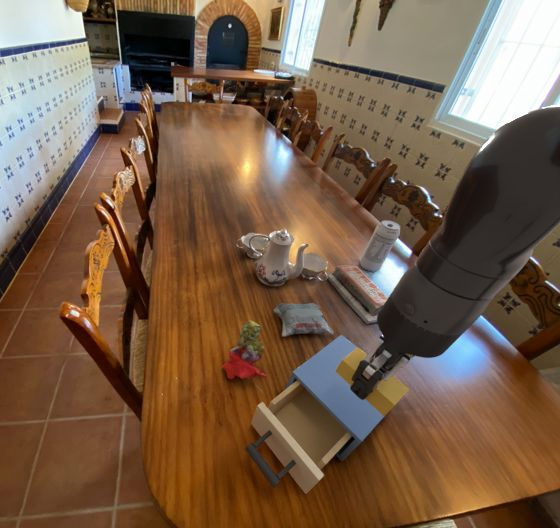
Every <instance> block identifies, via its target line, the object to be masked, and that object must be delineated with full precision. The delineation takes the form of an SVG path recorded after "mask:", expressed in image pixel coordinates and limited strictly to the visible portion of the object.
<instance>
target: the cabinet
mask: <svg viewBox="0 0 560 528" xmlns="http://www.w3.org/2000/svg"><path fill="white" fill-rule="evenodd" d="M357 347H358V346H356V345H355V344H354V343H353V342H351V341H350V340H349V339H347V338H346V337H345V336H344V335H343V334H340V335H339V336H337V337H336V338H335V339H334V340H332V341H331V342H330V343H328V344H327V345H326V346H324V347H323V348H321V350H319V351H318V352H316V353H315V354H314V355H312V356H311V357H310V358H309V359H307V360H306V361H305V362H303V363H302V364H301V365H299V366H298V367H297V368H295V369H294V370H293V371H292V372H291V375H290V377H289V379H288V381H287V382H286V386H285V388H284V390H286V389H287V388H288V387H289V386H291V385H292V384H293V383H295V382H296V381H297V380H298V381H299V382H300V383H301V384H302V385H303V386H304V387H305V388H306V389H307V390H308V391H309V392H310V393H311V394H312V395H313V396H314V397H315V399H316V400H317V401H318V402H319V403H320V404H321V405H322V406H323V407H324V408H325V409H326V410H327V411H328V412H329V413H330V414H331V415H332V416H333V417H334V418H335V419H336V420H337V421H338V422H339V423H340V424H341V425H342V426H343V427H344V428H345V429H346V430H347V431H348V432H349V433H350V434H351V435H352V437H351V438H350V439H349V440H348V441H347V442H346V443H345V444H344V446H343V447H342V448H341V449H340V450H339V451H338V452H337V453H336V454H335V455H334V456H335V457H337V459H338V460H340V462H341V463H342V462H344V460H345V459H347V458H348V456H350V455H351V454H352V452H353V451H355V449H356V448H357V447H359V446H360V444H361V443H363V442H364V440H365V439H367V437H368V436H369V435H370V433H371V432H372V431H373V430H374V429H376V427H377V425H378V424H379V423H380V422H382V420H383V419H384V418H385V416H383V415H382V414H381V413H380V412H379V411H377V410H376V409H375V408H374V407H373V406H372V405H371V404H370V403H369V402H368V401H367V400H366V399H364V400H361V399H360V398H359V397H357V396H356V395H355V394H354V393H353V392H352V391H351V389H350V387H351V386H350V385H349V384H348V383H347V382H346V381H345V380H344V379H343V378H342V377H341V376H340V375H338V374H337V373H336V372H335V370H336V369H337V367H338V366H339V364H340V362H341V361H342V359H344V358H345V357H346V356H347V355H349V354H350V353H351V352H352V351H354V350H355V349H356V348H357Z"/></svg>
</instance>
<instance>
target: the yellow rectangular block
mask: <svg viewBox="0 0 560 528" xmlns="http://www.w3.org/2000/svg"><path fill="white" fill-rule="evenodd" d="M356 347H357V348H356V349H355V350H354V351H352V352H351V353H350V354H349V355H347V356H346V357H345V358H344V359H342V361H341V362H340V364H339V366H338V367H337V369H336V370H335V372H336V373H337V374H338V375H340V376H341V377H342V378H343V379H344V380H345V381H346V382H347V383H348V384H349V385H350V386H351V385H352V384H353V383H354V382H353V381H352V380H351V379H352V376H353V375H354V373H355V371H356V369H357V367H358V365H359V362H360V361H361V360H362V361H363V360H364V359H365V358H366V356H367V355H368V354H367V353H366V352H364V351H363V350H362V349H361V348H360V347H358V346H356ZM378 385H379V386H378V387H377V388H375V389H373V392H372V393H370V394H369V395H368V396H367V397H366V398H365V399H366V400H367V401H368V402H369V403H370V404H371V405H372V406H373V407H374V408H375V409H376V410H377V411H379V412H380V413H381V414H382V415H383V416H384V417H386V416H387V414H388V413H389V412H390V411H391V410H392V409H393V408H394V407H395V406H396V405H397V404H398V403H399V402H400V400H402V398H403V397H404V396H406V394H407V393H409V391H410V388H408V386H406V385H405V384H403V383H402V382H401V381H400V380H399V379H397V378H396V377H395V376H394V375H393V376H392V377H391V378H390V379H389V380H388V381H384V380H382V381H381V382H380V383H379V384H378Z"/></svg>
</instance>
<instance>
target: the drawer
mask: <svg viewBox="0 0 560 528" xmlns="http://www.w3.org/2000/svg"><path fill="white" fill-rule="evenodd" d="M250 424H251V426H252V427H253V429H254V430H255V431H256V432H257V433H258V435H259V438H257V440H255V441H254V442H250V443H249V444H248V445H247V446H246V447H245V451H246V452H247V454H248V455H249V457H250V458H251V459H252V461H253V462H254V464H255V465H256V466H257V468H258V469H259V471H260V472H261V473H262V475H263V477H264V478H265V479H266V480H267V482H268V483H269V484H270V486H271V487H272V489H274V488H276V487H277V486H278V485H279V484H280V483H281V479H282V478H284V476H285V475H286V474H287V473H288V474H289V475H290V476H291V478H292V479H293V480H294V481H295V483H296V484H297V485H298V486H299V488H300V489H301V491H303V493H304V494H305V495H307V494H308V493H309V492H310V491H311V490H312V489H313V488H314V487H315V486H316V485H317V484H318V483H319V482H320V481H321V480H322V479H323V477H325V473H323V471H322V469H324V467H325V466H327V464H328V463H329V462H330V461H331V460H332V459H333V458H334V457H335V456H336V455H335V454H336V453H337V452H338V451H339V450H340V449H341V448H342V447H343V446H344V444H345V443H346V442H347V441H348V440H349V439H350V438H351V437H352V435H351V434H350V433H349V432H348V431H347V430H346V429H345V428H344V427H343V426H342V425H341V424H340V423H339V422H338V421H337V420H336V419H335V418H334V417H333V416H332V415H331V414H330V413H329V412H328V411H327V410H326V409H325V408H324V407H323V406H322V405H321V404H320V403H319V402H318V401H317V400H316V399H315V397H314V396H313V395H312V394H311V393H310V392H309V391H308V390H307V389H306V388H305V387H304V386H303V385H302V384H301V383H300V382H299V381H298V380H297V381H296V382H295V383H293V384H292V385H291V386H289V387H288V388H287V389H286V390H285V389H284V390H283V391H282V392H281V393H279V394H278V395H277V396H275V397H274V398H273V399H272V400H271V401H270V403H269V405H268V406H267V405H266V404H265V402H263V401H261V402H260V403H258V404H257V406H256V408H255V411H254V414H253V416H252V419H251V422H250ZM262 443H265V444H266V445H267V446H268V448H269V449H270V450H271V451H272V453H273V454H274V455H275V457H276V458H277V460H278V461H279V462H280V464H281V465H282V466H283V467H284V468H282V469H281V470H280V471H279V472H278V473H277V474H276V473H275V471H274V470H273V469H272V468H271V466H270V465H269V463H268V462H267V460H266V459H265V458H264V457H263V455H262V454H261V452H260V451H259V450H258V447H259V446H260V445H261V444H262Z"/></svg>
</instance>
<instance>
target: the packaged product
mask: <svg viewBox="0 0 560 528" xmlns="http://www.w3.org/2000/svg"><path fill="white" fill-rule="evenodd" d="M327 276H328V278H327V281H329V282H330V283H331V285H332V286H333V287H334V288H335V290H336V291H337V292H338V294H339V295H340V296H341V297H342V299H343V300H344V301H345V302H346V304H348V306H350V307H351V309H352V310H353V311H354V312H355V313H356V314H357V316H358V317H360V319H361V320H362V321H363V322H364V323H365V325H369V324H375V323H377V316H378V313H379V311H380V310H381V308H382V307H383V305H384V304H385V302H386V301H387V299H388V298H389V296H387V294H385V292H384V291H382V290H381V288H380V287H378V286H377V285H376V284H375V282H373V281H372V279H371V278H370V277H368V276H367V275H366V273H364V272H363V271H362V269H361V268H360V267H358V266H357V265H356V264H353V263H351V264H343V265H337V266H335V268H334V270H333V272H332V273H327Z"/></svg>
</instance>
